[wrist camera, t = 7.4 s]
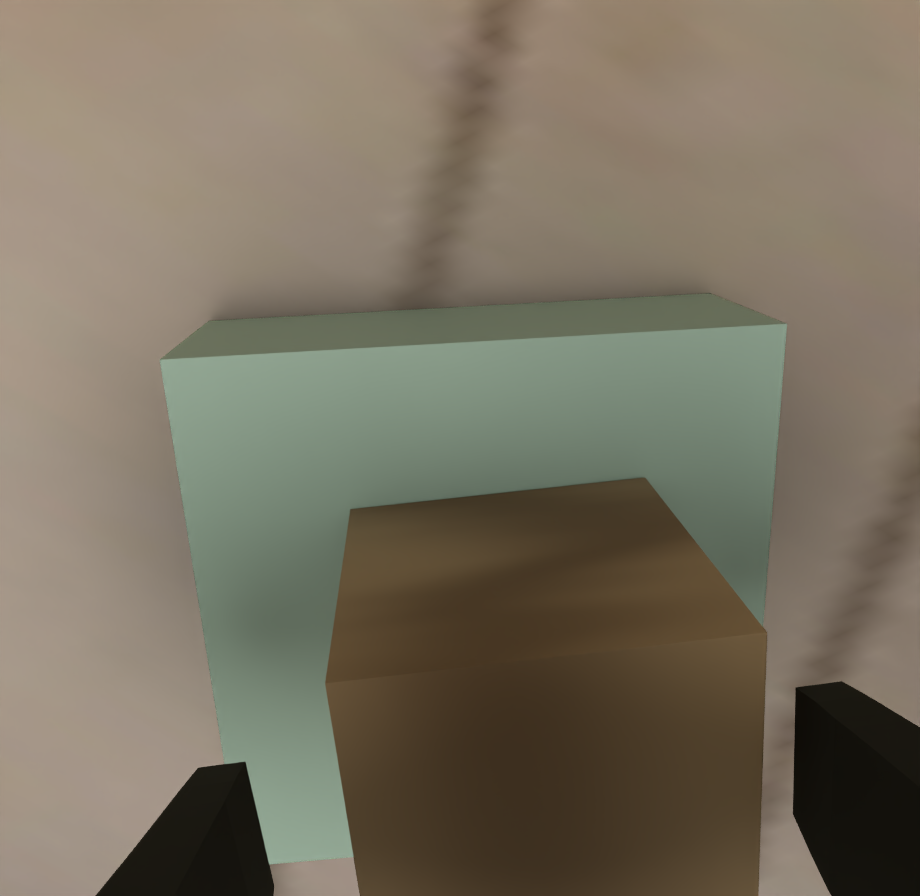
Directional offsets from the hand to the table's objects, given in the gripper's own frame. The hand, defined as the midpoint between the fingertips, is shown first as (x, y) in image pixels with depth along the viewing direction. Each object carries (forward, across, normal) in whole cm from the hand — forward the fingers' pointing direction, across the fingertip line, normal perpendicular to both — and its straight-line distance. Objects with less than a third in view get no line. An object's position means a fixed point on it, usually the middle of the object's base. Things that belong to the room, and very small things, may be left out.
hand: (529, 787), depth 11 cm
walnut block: (+4, 0, 0) cm, 4 cm away
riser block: (+8, 0, 0) cm, 8 cm away
